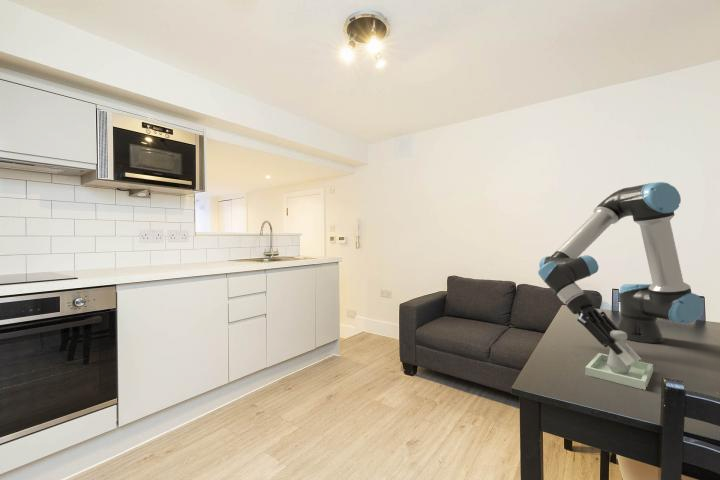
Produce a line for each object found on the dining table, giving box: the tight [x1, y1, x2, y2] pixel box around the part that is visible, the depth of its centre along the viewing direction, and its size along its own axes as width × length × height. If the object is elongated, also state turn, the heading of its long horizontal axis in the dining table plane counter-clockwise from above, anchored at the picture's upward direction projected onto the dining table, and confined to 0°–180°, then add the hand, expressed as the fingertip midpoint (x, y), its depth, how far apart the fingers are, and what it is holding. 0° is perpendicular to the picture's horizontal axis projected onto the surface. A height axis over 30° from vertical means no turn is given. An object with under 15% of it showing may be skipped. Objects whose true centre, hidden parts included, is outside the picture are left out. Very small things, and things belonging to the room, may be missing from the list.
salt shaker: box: [607, 330, 631, 375], centre depth 99 cm, size 6×6×13 cm
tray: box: [584, 352, 654, 391], centre depth 99 cm, size 18×14×2 cm
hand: (634, 362), depth 95 cm, fingers closed on salt shaker, 3 cm apart
